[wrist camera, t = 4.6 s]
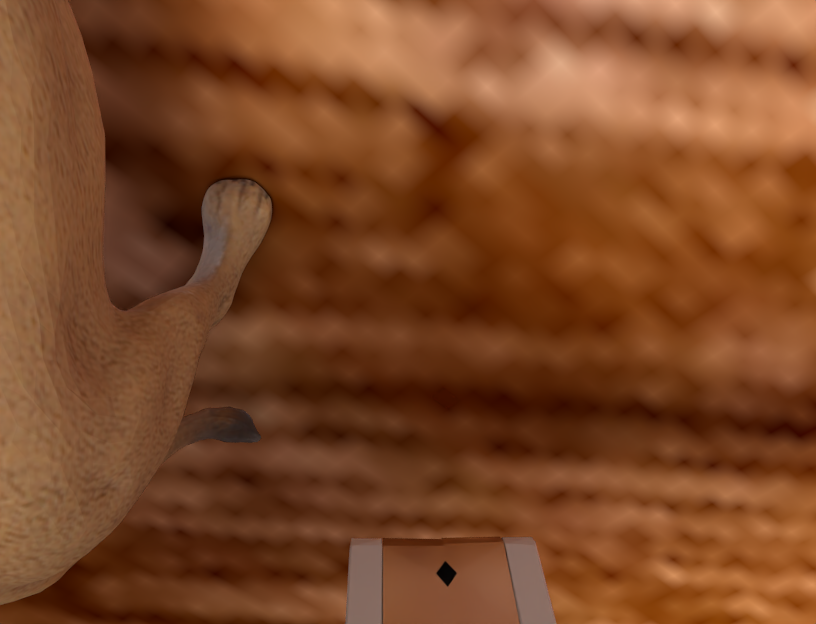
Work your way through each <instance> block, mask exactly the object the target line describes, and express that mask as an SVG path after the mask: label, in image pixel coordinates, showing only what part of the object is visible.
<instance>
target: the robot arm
mask: <svg viewBox="0 0 816 624" xmlns="http://www.w3.org/2000/svg"><path fill="white" fill-rule="evenodd" d="M345 624H556V620H555V616H554V612H553V608H552V604H551V600H550V597H549V593H548V589H547V585H546V581H545V577H544V573H543V569H542V565H541V561H540V557H539V553H538V550H537V546H536V542H535V541H534V539H533V538H532V537H502V538H500V537H465V538H442V539H398V538H383V550H382V538H352V539H351V544H350V551H349V569H348V586H347V604H346V622H345Z"/></svg>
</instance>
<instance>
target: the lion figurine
mask: <svg viewBox="0 0 816 624" xmlns="http://www.w3.org/2000/svg"><path fill="white" fill-rule="evenodd" d="M104 203H105V132H104V127H103V122H102V117H101V112H100V107H99V102H98V97H97V92H96V87H95V82H94V77H93V73H92V70H91V66H90V63H89V59H88V56H87V53H86V49H85V46H84V42H83V39H82V35H81V33H80V30H79V27H78V25H77V22H76V19H75V17H74V14H73V11H72V9H71V7H70V4H69V2H68V0H0V605H2V604H5V603H9V602H13V601H16V600H19V599H22V598H25V597H28V596H31V595H34V594H37V593H40V592H41V591H43V590H44V589H46V588H47V587H49V586H51V585H52V584H54V583H55V582H57V581H58V580H59V579H60V578H61V577H62V576H63V575H64V574H65V573H66V572H67V571H68V570H69V569H70V568H71V567H72V566H73V565H74V564H75V563H76V562H77V561H78V560H79V559H81V558H82V557H84V556H85V555H86V554H88V553H89V552H90V551H91V550H92V549H93V548H95V547H96V546H97V545H98V544H99V543H100V542H101V541H102V540H104V539H105V538H106V537H107V536H108V535H109V534H110V533H111V532H112V531H113V530H114V529H115V528H116V527H117V526H118V525H119V524H120V523H121V522H122V520H123V519H124V517H125V516H126V515H127V513H128V512H129V510H130V509H131V508H132V506H133V505H134V504H135V502H136V501H137V499H138V498H139V497H140V495H141V494H142V492H143V491H144V490H145V488H146V487H147V485H148V484H149V482H150V481H151V479H152V478H153V476H154V474H155V473H156V471H157V470H158V468H159V467H160V465H161V464H162V463H163V462H164V461H165V460H167V459H168V458H169V457H170V456H171V455H172V454H173V453H175V452H176V451H178V450H179V449H181V448H183V447H184V446H186V445H189V444H192V443H194V442H196V441H199V440H204V439H217V440H220V441H224V442H235V443H236V442H248V443H252V442H258V441H260V438H261V436H260V434H259V433H258V431H257V430H256V428H255V426H254V424H253V420H252V419H251V417H250V415H249V414H248V413H246V412H245V411H243V410H240V409H235V408H231V407H223V408H207V409H203V410H201V411H199V412H196V413H193V414H191V415H188V416H186V417H183V415H184V412H185V408H186V405H187V401H188V398H189V394H190V391H191V387H192V384H193V381H194V378H195V374H196V370H197V365H198V360H199V355H200V354H201V352H202V350H203V347H204V345H205V342H206V340H207V336H208V333H209V330H210V329H211V328H213V327H214V326H216V325H217V324H218V323H219V322H220V320H221V319H222V318H223V317H224V316H225V314H226V313H227V311H228V309H229V308H230V306H231V304H232V301H233V297H234V294H235V291H236V288H237V286H238V283H239V280H240V277H241V275H242V272H243V270H244V268H245V266H246V265H247V263H248V261H249V260H250V258H251V256H252V255H253V254H254V252H255V251H256V249H257V248H258V246H259V245H260V243H261V242H262V240H263V238H264V236H265V234H266V231H267V229H268V227H269V224H270V221H271V216H272V203H271V199H270V197H269V196H268V194H267V193H266V192H265V191H264V190H263V189H262V188H261V187H260V186H259V185H258V184H257V183H256V182H254V181H251V180H246V179H236V180H222V181H218V182H216V183H214V184H213V185H212V186H210V187H209V189H208V190H207V192H206V194H205V197H204V199H203V204H202V220H203V229H204V245H203V252H202V255H201V258H200V261H199V264H198V266H197V268H196V271H195V273H194V275H193V276H192V277H191V279H190V280H189V281H188V282H187V284H186V285H185V286H182V287H179V288H176V289H173V290H170V291H167V292H164V293H162V294H159V295H157V296H154V297H151V298H149V299H147V300H145V301H143V302H141V303H140V304H138V305H136V306H134V307H133V308H131V309H129V310H126V311H123V310H120V309H118V308H116V307H115V306H114V305H112V303H111V301H110V299H109V295H108V291H107V287H106V283H105V274H104V262H103V229H104ZM182 417H183V418H182Z"/></svg>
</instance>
